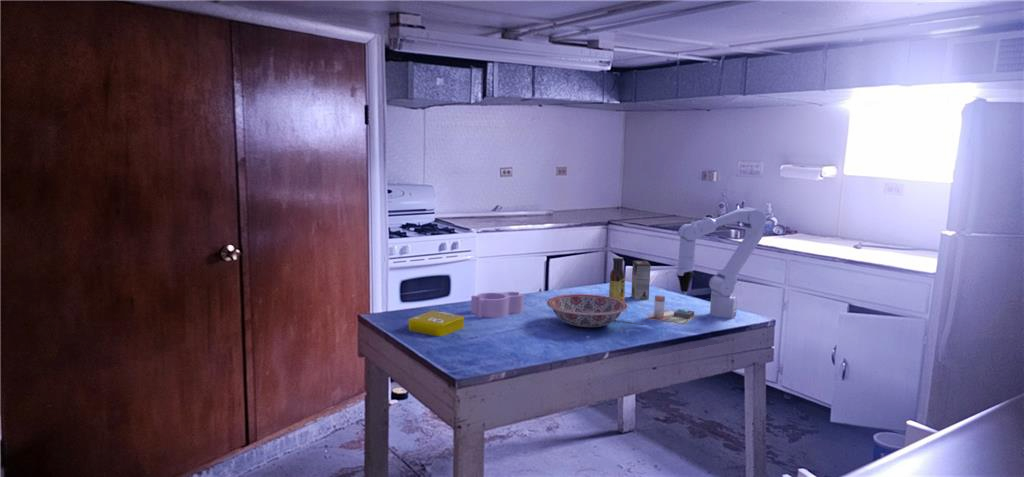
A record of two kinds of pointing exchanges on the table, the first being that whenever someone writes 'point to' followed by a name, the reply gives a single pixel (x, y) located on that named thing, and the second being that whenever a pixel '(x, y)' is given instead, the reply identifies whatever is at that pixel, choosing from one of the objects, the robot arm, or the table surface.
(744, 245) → the robot arm
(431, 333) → the element tile
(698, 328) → the table surface
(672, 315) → the beige flat square board
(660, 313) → the cylinder
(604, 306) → the ceramic bowl
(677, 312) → the button housing
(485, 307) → the pink lobed tray
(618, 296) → the sauce bottle
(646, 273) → the coffee box
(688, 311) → the button
